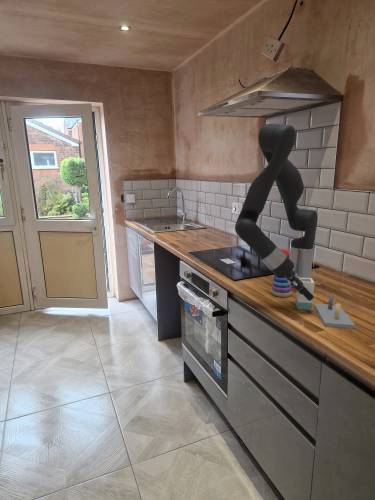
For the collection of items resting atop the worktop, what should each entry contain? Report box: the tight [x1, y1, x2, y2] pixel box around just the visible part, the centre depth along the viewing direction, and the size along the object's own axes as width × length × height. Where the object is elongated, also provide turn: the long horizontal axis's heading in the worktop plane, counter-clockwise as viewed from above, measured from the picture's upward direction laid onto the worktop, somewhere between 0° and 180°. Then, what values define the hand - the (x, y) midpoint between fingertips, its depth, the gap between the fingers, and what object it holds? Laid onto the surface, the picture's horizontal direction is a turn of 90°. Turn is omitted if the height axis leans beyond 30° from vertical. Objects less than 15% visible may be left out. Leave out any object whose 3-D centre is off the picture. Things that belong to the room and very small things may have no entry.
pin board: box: [313, 294, 356, 329], centre depth 110 cm, size 16×9×6 cm, turn 171°
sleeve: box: [295, 277, 315, 311], centre depth 115 cm, size 5×5×10 cm
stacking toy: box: [270, 248, 292, 298], centre depth 129 cm, size 8×8×19 cm
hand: (309, 295), depth 115 cm, fingers closed on sleeve, 4 cm apart
